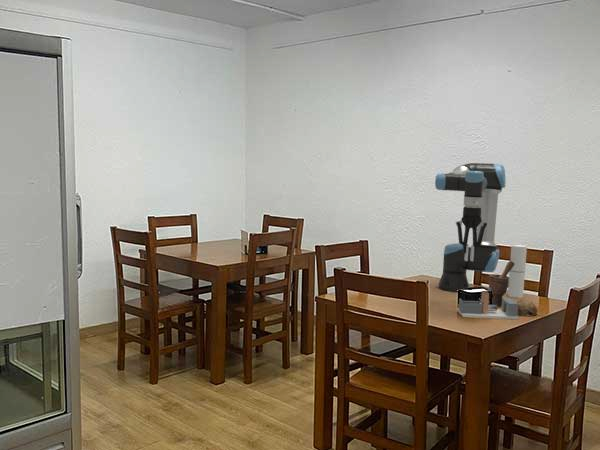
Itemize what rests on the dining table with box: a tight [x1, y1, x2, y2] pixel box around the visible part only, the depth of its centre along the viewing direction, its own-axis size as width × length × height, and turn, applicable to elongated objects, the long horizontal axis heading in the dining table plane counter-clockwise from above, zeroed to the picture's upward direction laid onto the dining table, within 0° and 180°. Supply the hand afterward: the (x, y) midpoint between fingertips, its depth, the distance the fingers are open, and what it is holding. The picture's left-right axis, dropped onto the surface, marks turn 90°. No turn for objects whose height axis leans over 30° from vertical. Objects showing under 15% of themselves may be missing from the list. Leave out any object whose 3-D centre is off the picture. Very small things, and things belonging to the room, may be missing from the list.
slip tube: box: [480, 290, 498, 313], centre depth 264 cm, size 4×14×9 cm, turn 88°
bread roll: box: [516, 299, 538, 317], centre depth 269 cm, size 10×10×8 cm
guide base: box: [456, 297, 519, 320], centre depth 264 cm, size 12×23×6 cm, turn 88°
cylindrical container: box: [507, 244, 528, 299], centre depth 301 cm, size 7×7×25 cm
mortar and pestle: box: [488, 260, 514, 306], centre depth 285 cm, size 12×9×20 cm
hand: (468, 260), depth 267 cm, fingers open, 2 cm apart
